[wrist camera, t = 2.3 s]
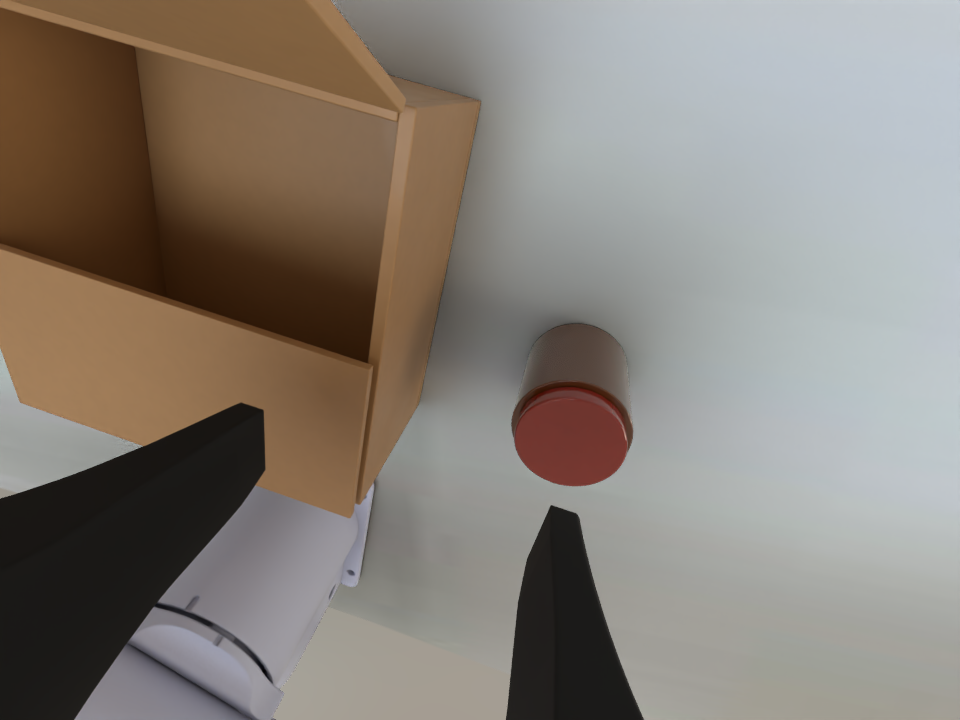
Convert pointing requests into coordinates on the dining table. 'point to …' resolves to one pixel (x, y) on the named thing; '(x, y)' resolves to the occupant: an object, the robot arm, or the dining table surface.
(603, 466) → the spice jar
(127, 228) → the carton
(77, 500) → the robot arm
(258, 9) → the flap
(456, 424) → the dining table surface
